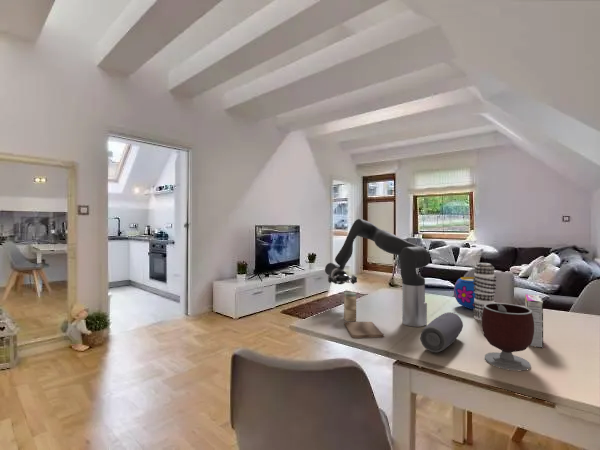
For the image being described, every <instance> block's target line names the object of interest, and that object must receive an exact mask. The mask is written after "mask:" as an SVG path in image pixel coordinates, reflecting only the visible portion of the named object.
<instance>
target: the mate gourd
mask: <svg viewBox="0 0 600 450" xmlns="http://www.w3.org/2000/svg"><path fill="white" fill-rule="evenodd" d="M481 328H482V332H483V333H482V334H483V336H484V338H485V340H486V341H487V342H488V344H489V345H491V346H492V347H495V348H496V349H499V350H501V351H500V352H499V351H498V352H496V351H495V352H487V353H486V354H484V361H485V360H486V361H487V362H486V361H485V362H486V363H488V364H489V363H490V365H491V364H492V365H491V366H493V365H494V366H493V367H495V366H496V368H498V367H500V368H499V369H501V368H503V369H502V370H505V369H509V370H508V371H511V370H527V369H529V368H530V367H531V366H532V365H531V363H530V361H529V360H527V359H525V358H523V357H522V356H521V357H520V356H518V355H515V354H513V353H515V352H516V353H517V352H522V351H525V350H527V349H528V347H531V346H530V345H531V343H532V340H533V336H534V319H533V315H532V310H530V309H528V308H526V307H525V306H522V305H517V304H512V303H505V302H503V303H501V302H494V303H488V304H485V305H484V309H483V313H482V320H481ZM531 368H532V367H531ZM531 368H530V369H531ZM530 369H529V370H530ZM527 371H528V370H527Z"/></svg>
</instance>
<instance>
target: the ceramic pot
mask: <svg viewBox="0 0 600 450" xmlns="http://www.w3.org/2000/svg"><path fill="white" fill-rule="evenodd" d="M474 278H475V277H474V276H461V277H460V278H458V279H457V280H456V282H455V284H454V287H453V297H454V298H455V300H456V302H457V303H458V305H460V306H462V307H463V308H466V309H470V310H474V309H475V308H474V305H475V304H474V302H475V301H474V298H475V293H474V291H473V290H474V288H473V287H474V286H475V285H474V284H473V282H474V281H473V279H474Z"/></svg>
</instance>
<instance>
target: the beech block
mask: <svg viewBox="0 0 600 450" xmlns="http://www.w3.org/2000/svg"><path fill="white" fill-rule="evenodd" d="M343 319H344V320H345V322H357V293H355V292H354V291H344V292H343Z"/></svg>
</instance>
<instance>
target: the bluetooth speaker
mask: <svg viewBox="0 0 600 450" xmlns="http://www.w3.org/2000/svg"><path fill="white" fill-rule="evenodd" d="M463 327H464V324H463V320H462V318H461V317H460V316H459V315H458V314H456V313H455V312H444V313H443V314H440V315H439V316H438V317H435V318H434V319H433V320H432V321H430V322H429V323H427V325H425V327H424V328H423V329H422V330H421V333H420V336H419V337H420V338H419V339H420V342H421V345H422V346H423V347H424V349H426V350H427V351H429V352H432V353H440V352H443V351H444V350H445V349H447V348H448V347H450V345H452V344H453V343H454V342H455V341H456V340H457V337H459V336H460V334H461V333H462V330H463Z"/></svg>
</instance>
